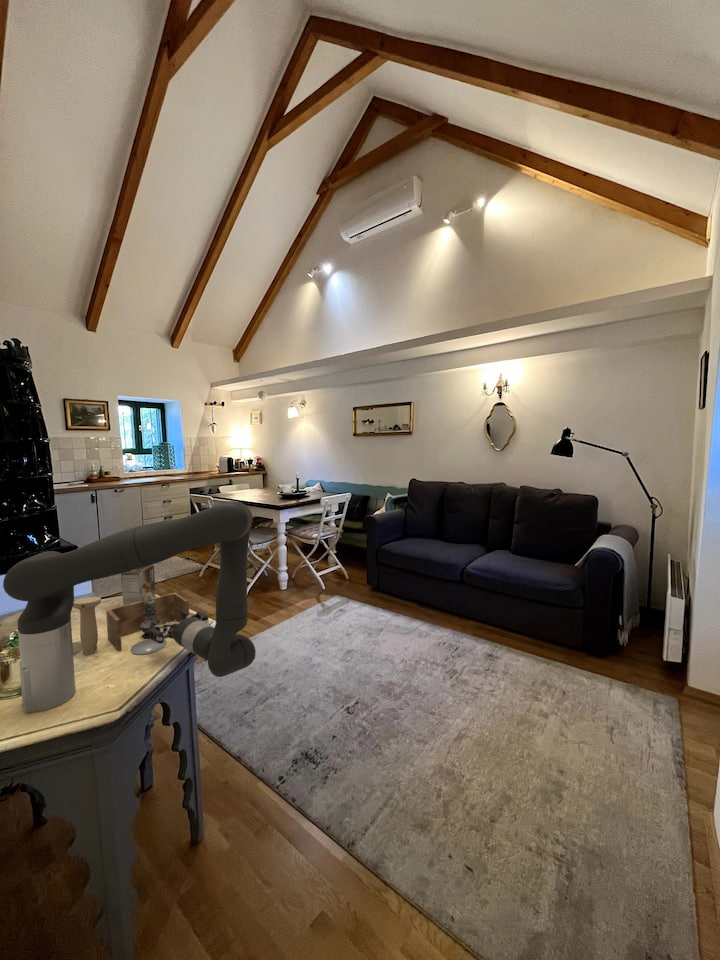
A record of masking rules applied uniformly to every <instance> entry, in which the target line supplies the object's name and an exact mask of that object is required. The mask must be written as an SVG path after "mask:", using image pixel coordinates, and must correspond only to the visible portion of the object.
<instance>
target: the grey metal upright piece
mask: <svg viewBox="0 0 720 960" xmlns="http://www.w3.org/2000/svg"><path fill="white" fill-rule="evenodd" d="M144 605H145V611H144V614H145V621H144V622H143V623H142V624H140V627H141V629H142V630H141V632H142V633H143V634H141V638H142V639H143V640H147V639H150V638H149V629H150V624H151V622H153V621H155V622H156V623H158V624H159V625H162V624H161V623H162V621H161V620H158V619H157V618H156V611H157V610H156V609H155V600H153V599H150V597H149V599H148V600H147V601H145V604H144Z"/></svg>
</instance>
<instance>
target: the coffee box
mask: <svg viewBox="0 0 720 960" xmlns="http://www.w3.org/2000/svg"><path fill="white" fill-rule="evenodd" d="M120 577H121V590H122V591H121V592H122V593H121V594H122V606H124V605H128V604H132V603H135V602H139V601H143V600H147V599H149V597H150V599H151V598H155V597H157V596H156V583H155V582H156V581H155V564H153V565H149V566H146V567H143V568H140V569H136V570H133V571H129V572H125V573H121V574H120Z"/></svg>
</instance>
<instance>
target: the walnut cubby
mask: <svg viewBox="0 0 720 960" xmlns="http://www.w3.org/2000/svg"><path fill="white" fill-rule="evenodd" d="M151 599H153V600H155V609H156V610H157V611H156V618H157V619H158V620H161V621H162V623H161V625H164V624H165V623H167V622H168V623H171V622H174V621H175V620H176V621H175V622H180V621H182V620H183V619H182V614H181V612H183V611H185V612H189V613H190V603H189V600H188V599H187V598H185V597H184V596H182V595H181V594H179V593H178V592H176V591H175V592H172V593H168V594H163V595H160V596H156V597H155V598H151ZM147 600H148V599H147ZM147 600H143V601H139V602H135V603H132V604H128V605H124V606H123V605H121V606H117V607H112V608H109V609H106V610H105V611H106V629H107V631H106V632H107V640H108V641H109V643H110V644H111V645H112V646H113V647H114V649H115V650H116V651H117V652H121V651H123V650H122V637H125V636H128V635H130V634H134V632H135V633H137V632H140V631H141V632H142V629H141V627H140V624H142V623H143V622H144V621H145V614H144V611H145V605H144V604H145V601H147ZM170 621H171V622H170Z"/></svg>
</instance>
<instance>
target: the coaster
mask: <svg viewBox="0 0 720 960" xmlns="http://www.w3.org/2000/svg"><path fill="white" fill-rule="evenodd" d="M166 645H167V640H166V639H164V642H163V643H161V644H159V643H157V642H155V641H153V640H152V639H143V640H141V641H138V642H136V643H135V644H133V645H132V646H131V648H130V653H131V654H133V655H136V656H144V655H151V654H154V653H157V652H159V651H160V650H163V649H164V648H165V647H166Z"/></svg>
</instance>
